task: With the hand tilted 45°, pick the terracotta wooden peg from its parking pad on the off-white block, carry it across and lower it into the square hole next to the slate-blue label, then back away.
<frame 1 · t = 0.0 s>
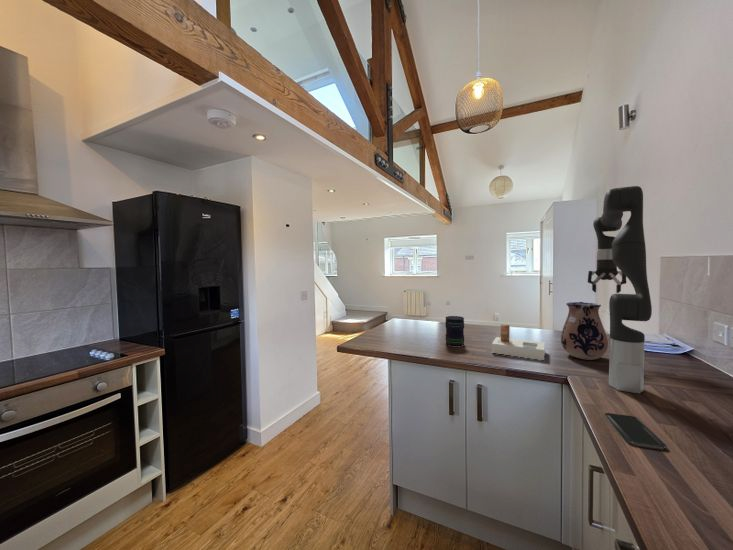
hand: (606, 292, 141), 29 cm above the worktop, tool pointing down, fingers open, 8 cm apart
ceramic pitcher: (582, 356, 139), on the worktop
storage jar: (454, 345, 161), on the worktop
peg: (505, 341, 148), point 5 cm above the worktop, touching socket block
socket block: (518, 353, 145), on the worktop
phone: (633, 433, 78), on the worktop
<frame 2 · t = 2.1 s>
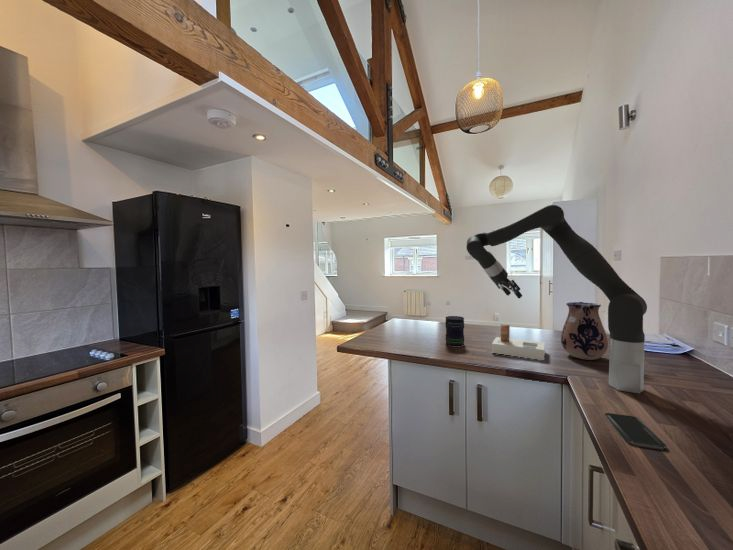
hand: (514, 295, 143), 28 cm above the worktop, tool tilted 40°, fingers open, 8 cm apart
nothing on the worktop moved.
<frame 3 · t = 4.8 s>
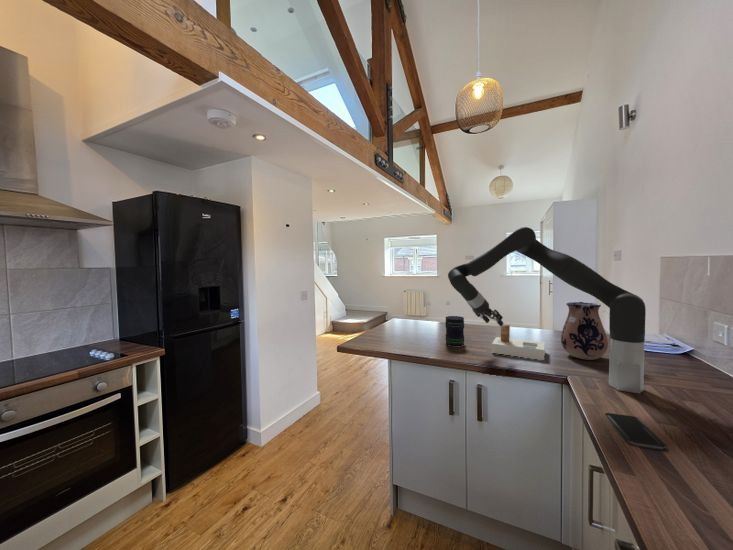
hand: (494, 323, 145), 15 cm above the worktop, tool tilted 45°, fingers open, 8 cm apart
nothing on the worktop moved.
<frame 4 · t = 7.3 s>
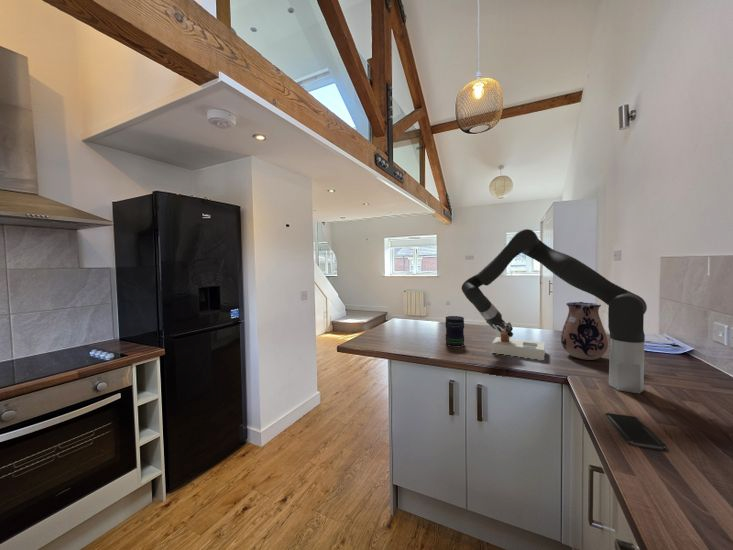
hand: (507, 334, 148), 8 cm above the worktop, tool tilted 45°, fingers closed on peg, 4 cm apart
peg: (505, 341, 148), point 5 cm above the worktop, touching gripper, socket block
everything else where it was.
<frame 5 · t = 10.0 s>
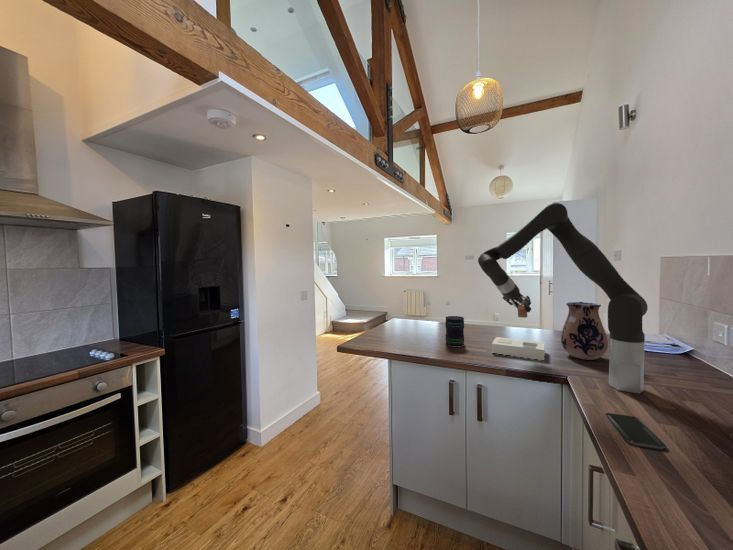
hand: (525, 310, 143), 21 cm above the worktop, tool tilted 45°, fingers closed on peg, 4 cm apart
peg: (522, 316, 143), point 18 cm above the worktop, touching gripper
everything else where it was.
when the fingers open (7 cm above the worktop, at t = 12.8 s): peg drops 2 cm, resting on socket block.
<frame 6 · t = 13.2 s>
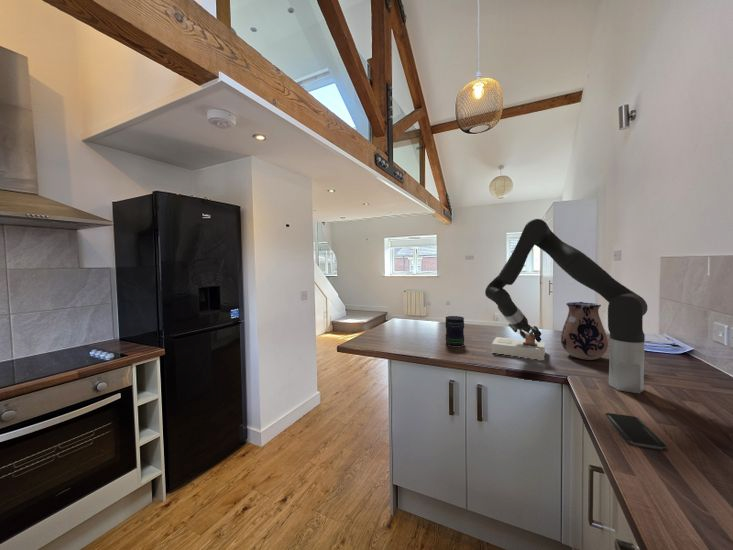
hand: (532, 338, 142), 7 cm above the worktop, tool tilted 45°, fingers open, 7 cm apart
peg: (529, 350, 142), point 2 cm above the worktop, touching socket block
everything else where it was.
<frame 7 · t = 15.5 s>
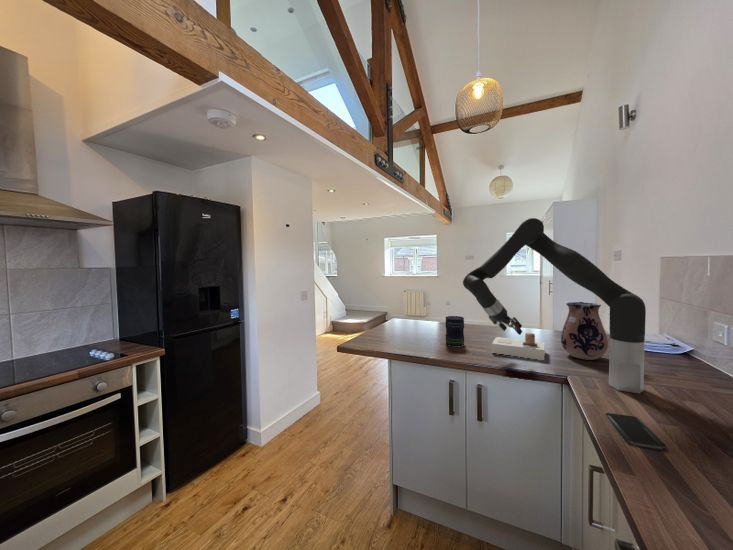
hand: (512, 331, 137), 13 cm above the worktop, tool tilted 45°, fingers open, 8 cm apart
nothing on the worktop moved.
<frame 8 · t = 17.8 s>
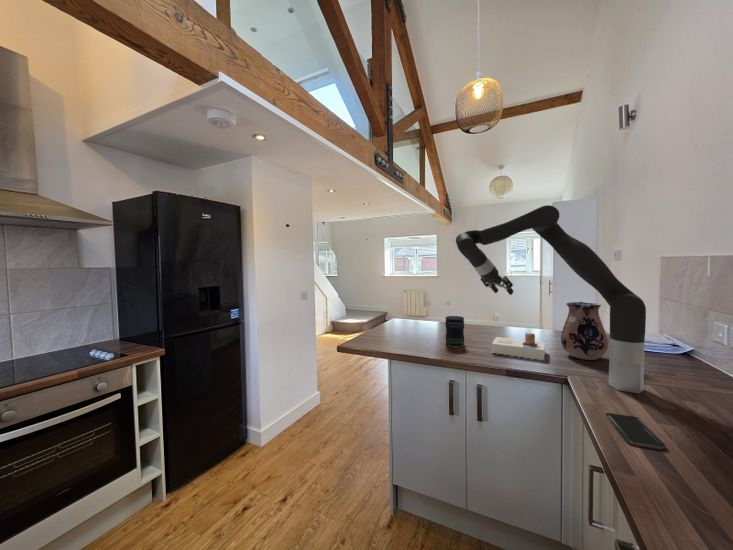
hand: (504, 292, 138), 31 cm above the worktop, tool tilted 45°, fingers open, 8 cm apart
nothing on the worktop moved.
at the end: peg 0.1 cm from the target spot on the socket block, point 2.0 cm above the socket block's base; peg tilted 0°; the gripper is holding nothing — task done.
